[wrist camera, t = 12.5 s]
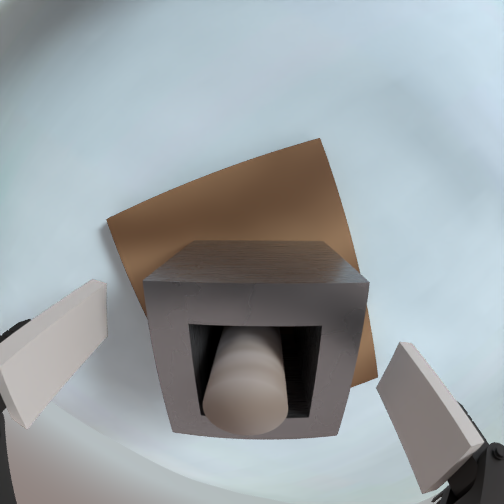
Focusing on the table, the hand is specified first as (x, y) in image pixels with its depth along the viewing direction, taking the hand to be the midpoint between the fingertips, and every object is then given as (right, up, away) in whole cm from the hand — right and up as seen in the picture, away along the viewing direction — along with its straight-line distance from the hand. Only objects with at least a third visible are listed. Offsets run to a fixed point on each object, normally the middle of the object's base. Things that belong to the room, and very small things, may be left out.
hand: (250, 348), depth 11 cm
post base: (0, +1, +6) cm, 6 cm away
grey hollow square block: (0, -1, +5) cm, 5 cm away
